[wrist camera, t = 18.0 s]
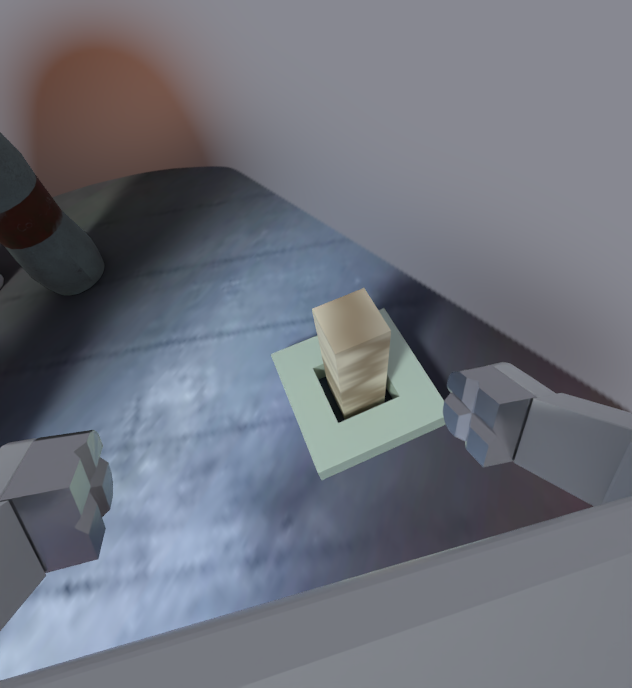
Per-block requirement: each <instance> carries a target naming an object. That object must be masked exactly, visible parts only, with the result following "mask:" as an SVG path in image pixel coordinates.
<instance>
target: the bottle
mask: <svg viewBox="0 0 632 688" xmlns="http://www.w3.org/2000/svg"><path fill="white" fill-rule="evenodd" d="M0 243H1V244H2V245H3V246H4V247H5V248H6V249H7V250H8V251H9V253H10V254H11V255H12V256H13V257H14V259H15V260H16V261H17V262H18V263H19V264H20V265H21V266H22V268H23V269H24V270H25V271H26V272H27V273H28V274H29V275H30V276H31V277H32V278H33V279H34V280H36V281H37V282H39V283H40V284H42V285H43V286H44V287H46V288H47V289H49V290H52V291H54V292H56V293H58V294H61V295H74V294H79V293H81V292H83V291H85V290H87V289H89V288H90V287H92V286H93V285H94V284H95V283H96V282H97V281H98V280H99V279H100V278H101V276H102V274H103V272H104V262H103V259H102V257H101V255H100V252H99V250H98V249H97V247H96V246H95V244H94V242H93V241H92V239H91V238H90V237H89V236H88V235H87V234H86V233H85V232H84V231H83V230H82V229H81V228H80V227H79V226H78V225H77V224H76V223H75V222H74V221H73V220H72V219H70V218H69V217H68V216H67V215H66V214H65V213H64V212H63V211H62V210H61V209H60V208H59V206H58V205H57V204H56V202H55V201H54V200H53V198H52V197H51V195H50V194H49V193H48V191H47V190H46V189H45V187H44V186H43V185H42V183H41V182H40V181H39V179H38V178H37V176H36V175H35V173H34V172H33V170H32V169H31V168H30V166H29V165H28V163H27V162H26V160H25V159H24V157H23V156H22V154H21V153H20V152H19V151H18V150H17V149H16V148H15V147H14V146H13V145H12V144H11V143H10V142H9V141H8V140H7V139H6V138H5V137H4V136H3V135H2V134H1V133H0Z"/></svg>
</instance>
